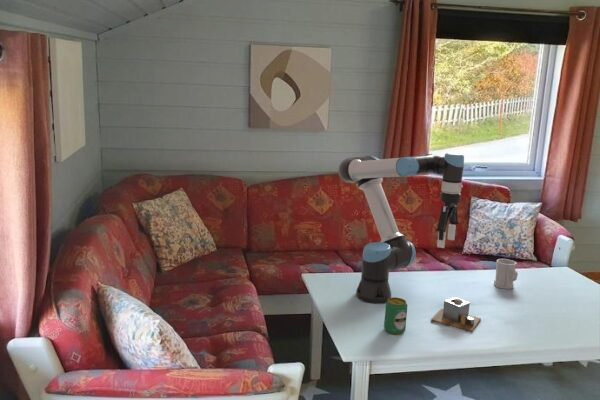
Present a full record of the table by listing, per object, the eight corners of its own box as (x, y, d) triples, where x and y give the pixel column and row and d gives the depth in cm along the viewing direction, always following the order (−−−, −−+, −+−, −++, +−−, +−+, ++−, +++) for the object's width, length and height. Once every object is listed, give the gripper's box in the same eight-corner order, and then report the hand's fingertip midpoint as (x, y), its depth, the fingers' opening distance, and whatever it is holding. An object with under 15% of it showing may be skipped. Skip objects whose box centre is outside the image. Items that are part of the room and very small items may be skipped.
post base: (430, 321, 216) (433, 300, 214) (441, 310, 227) (443, 290, 225) (471, 332, 208) (474, 310, 206) (480, 320, 219) (482, 299, 217)
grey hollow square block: (442, 317, 219) (444, 300, 217) (453, 312, 223) (454, 296, 222) (466, 327, 210) (468, 310, 209) (477, 322, 215) (479, 306, 213)
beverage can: (391, 336, 202) (393, 306, 200) (379, 327, 209) (382, 298, 207) (409, 333, 205) (412, 303, 203) (397, 324, 212) (399, 295, 210)
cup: (519, 286, 259) (522, 261, 256) (514, 291, 252) (518, 267, 249) (496, 281, 264) (499, 257, 262) (491, 286, 257) (494, 262, 254)
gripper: (451, 198, 205) (445, 252, 210) (469, 188, 226) (463, 238, 231) (431, 195, 209) (426, 248, 214) (450, 186, 230) (446, 235, 234)
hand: (445, 243), depth 222 cm, fingers open, 13 cm apart
